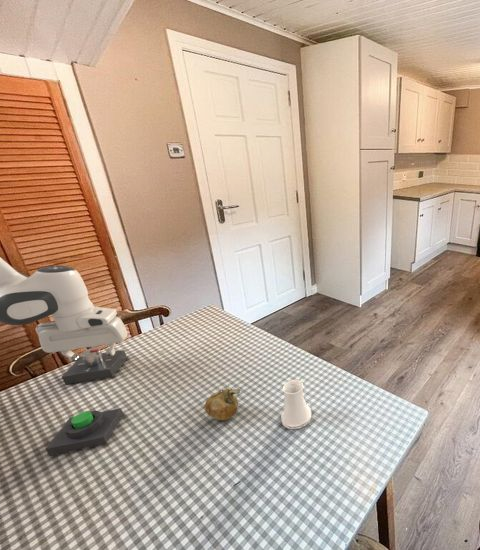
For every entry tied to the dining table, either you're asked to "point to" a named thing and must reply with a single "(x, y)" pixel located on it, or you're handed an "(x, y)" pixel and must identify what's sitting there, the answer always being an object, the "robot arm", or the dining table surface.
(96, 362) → the program dial
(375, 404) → the dining table surface
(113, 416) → the block
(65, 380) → the dial panel
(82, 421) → the button
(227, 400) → the onion
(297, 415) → the vase
